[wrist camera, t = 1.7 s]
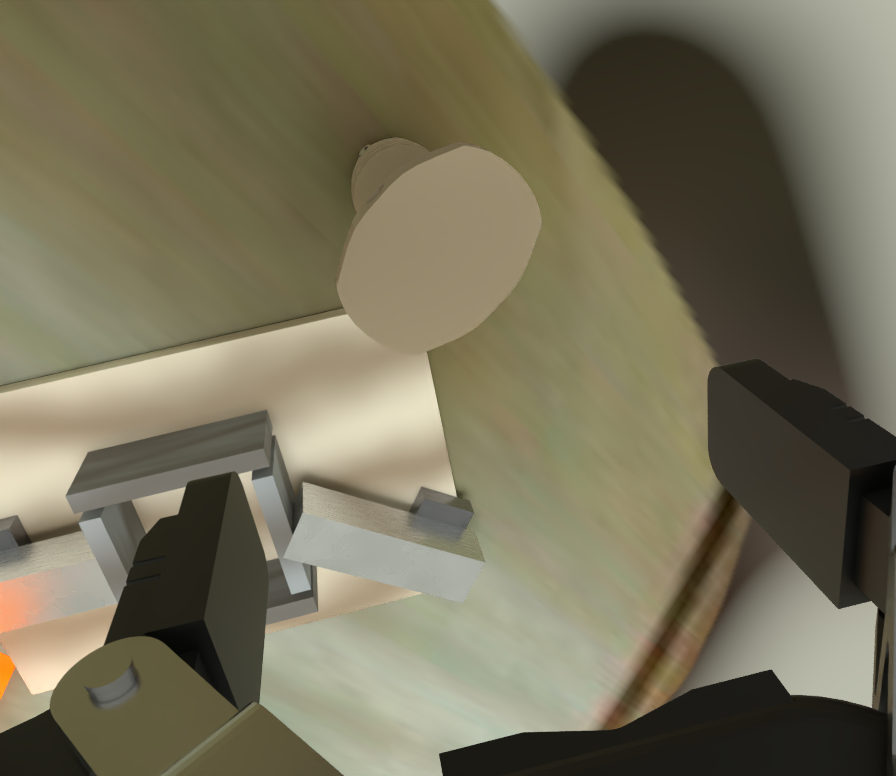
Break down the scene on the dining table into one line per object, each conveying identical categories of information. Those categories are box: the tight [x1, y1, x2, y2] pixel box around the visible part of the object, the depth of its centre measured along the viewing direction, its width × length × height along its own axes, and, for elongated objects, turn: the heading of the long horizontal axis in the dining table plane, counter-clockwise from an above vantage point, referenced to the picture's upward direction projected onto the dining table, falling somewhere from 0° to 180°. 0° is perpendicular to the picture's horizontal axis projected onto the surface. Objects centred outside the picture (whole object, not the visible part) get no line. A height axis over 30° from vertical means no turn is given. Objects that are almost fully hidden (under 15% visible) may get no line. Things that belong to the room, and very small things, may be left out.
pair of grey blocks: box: [0, 482, 485, 633], centre depth 39 cm, size 10×26×4 cm, turn 100°
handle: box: [336, 137, 542, 355], centre depth 29 cm, size 5×6×15 cm
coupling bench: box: [0, 308, 457, 695], centre depth 39 cm, size 18×26×5 cm
